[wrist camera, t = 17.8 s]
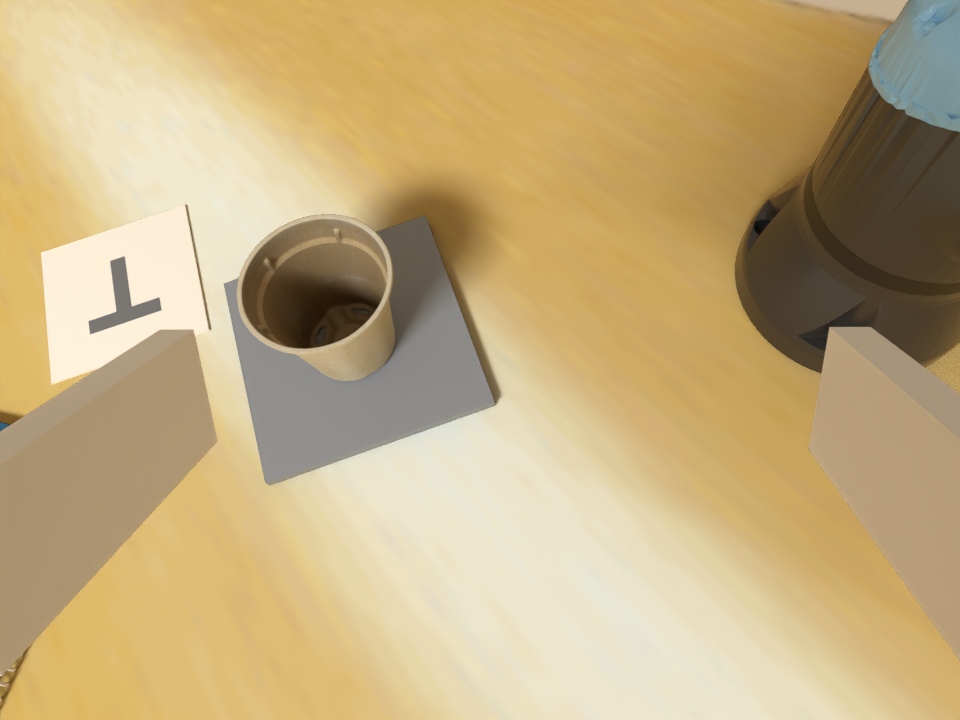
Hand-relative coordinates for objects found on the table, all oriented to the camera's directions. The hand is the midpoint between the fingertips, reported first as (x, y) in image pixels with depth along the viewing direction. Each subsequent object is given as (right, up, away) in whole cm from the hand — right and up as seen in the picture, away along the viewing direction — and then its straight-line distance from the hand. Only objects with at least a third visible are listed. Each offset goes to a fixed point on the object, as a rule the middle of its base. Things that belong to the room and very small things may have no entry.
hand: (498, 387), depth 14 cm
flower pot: (-9, +2, +33) cm, 35 cm away
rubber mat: (-10, +2, +34) cm, 35 cm away
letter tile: (-28, +6, +38) cm, 47 cm away
